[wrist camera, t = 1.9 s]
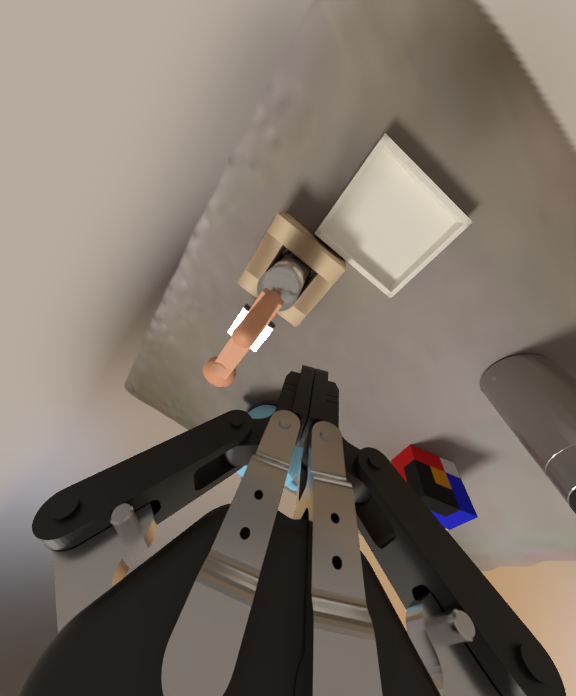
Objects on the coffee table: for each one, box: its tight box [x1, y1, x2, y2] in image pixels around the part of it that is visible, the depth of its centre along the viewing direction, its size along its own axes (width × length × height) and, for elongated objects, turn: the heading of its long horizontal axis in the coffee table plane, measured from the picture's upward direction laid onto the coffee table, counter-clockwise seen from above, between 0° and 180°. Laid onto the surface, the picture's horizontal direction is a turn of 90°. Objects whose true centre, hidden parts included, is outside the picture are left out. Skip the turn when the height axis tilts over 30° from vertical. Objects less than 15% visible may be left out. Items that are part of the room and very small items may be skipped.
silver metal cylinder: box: [257, 252, 310, 312], centre depth 29 cm, size 4×4×11 cm
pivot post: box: [227, 306, 274, 368], centre depth 35 cm, size 6×6×11 cm
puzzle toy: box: [390, 445, 477, 531], centre depth 46 cm, size 10×10×10 cm
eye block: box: [237, 212, 346, 327], centre depth 31 cm, size 10×10×5 cm
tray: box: [314, 133, 472, 298], centre depth 27 cm, size 13×11×2 cm
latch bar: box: [203, 287, 284, 387], centre depth 23 cm, size 4×16×9 cm, turn 144°
